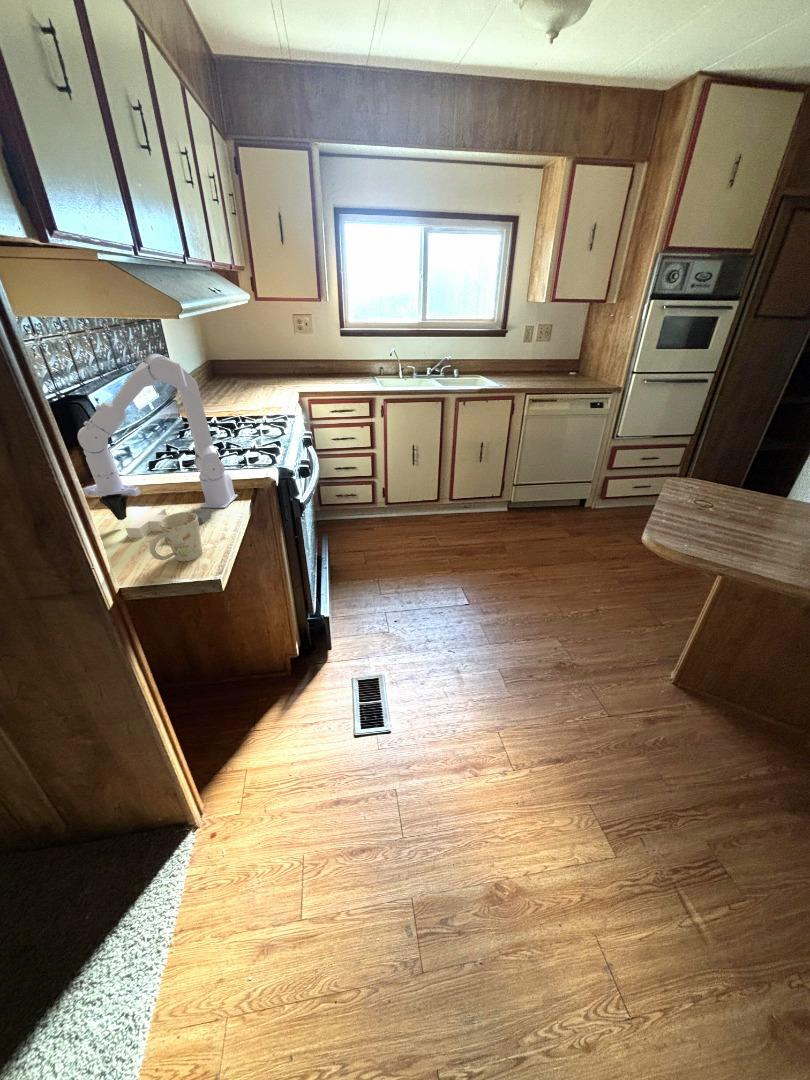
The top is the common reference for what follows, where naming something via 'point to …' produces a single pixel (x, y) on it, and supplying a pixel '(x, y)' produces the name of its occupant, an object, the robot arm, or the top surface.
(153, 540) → the mug
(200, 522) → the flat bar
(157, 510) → the t block
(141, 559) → the top surface
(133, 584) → the top surface
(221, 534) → the top surface
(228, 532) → the top surface
